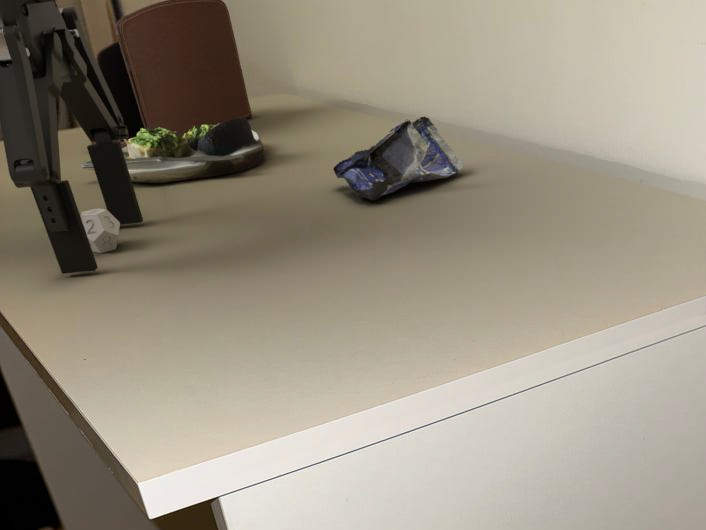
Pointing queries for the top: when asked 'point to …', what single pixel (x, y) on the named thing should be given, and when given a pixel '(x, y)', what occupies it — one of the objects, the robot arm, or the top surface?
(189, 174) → the salad plate
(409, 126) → the snack package
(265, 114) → the top surface
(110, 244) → the game die
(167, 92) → the letter holder
